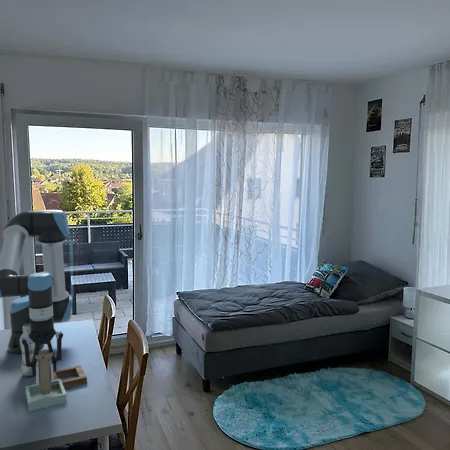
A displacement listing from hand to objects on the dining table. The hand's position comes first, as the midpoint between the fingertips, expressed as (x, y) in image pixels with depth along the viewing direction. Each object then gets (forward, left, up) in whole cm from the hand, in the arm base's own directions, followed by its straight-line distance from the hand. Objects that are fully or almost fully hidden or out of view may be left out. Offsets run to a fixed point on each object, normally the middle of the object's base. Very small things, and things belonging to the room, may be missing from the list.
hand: (45, 382), depth 147 cm
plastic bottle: (-23, -3, -6) cm, 24 cm away
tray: (0, 0, -6) cm, 6 cm away
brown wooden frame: (-10, +9, -6) cm, 15 cm away
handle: (0, 0, -4) cm, 4 cm away
